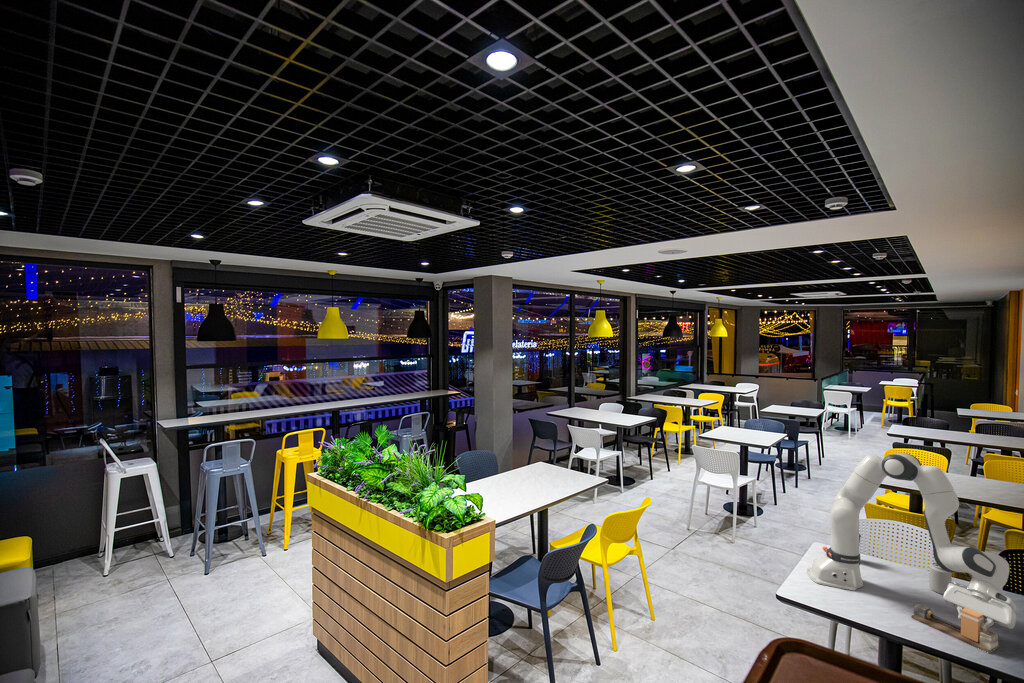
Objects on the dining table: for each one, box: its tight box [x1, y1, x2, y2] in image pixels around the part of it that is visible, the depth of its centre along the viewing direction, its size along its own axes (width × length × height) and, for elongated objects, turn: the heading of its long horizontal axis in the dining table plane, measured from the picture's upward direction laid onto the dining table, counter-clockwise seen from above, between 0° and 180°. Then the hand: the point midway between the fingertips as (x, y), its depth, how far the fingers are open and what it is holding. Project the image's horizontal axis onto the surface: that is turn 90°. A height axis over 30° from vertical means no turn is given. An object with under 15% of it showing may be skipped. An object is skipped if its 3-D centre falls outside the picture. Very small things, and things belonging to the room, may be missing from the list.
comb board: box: [910, 603, 1000, 654], centre depth 186 cm, size 24×8×6 cm, turn 25°
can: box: [928, 561, 953, 595], centre depth 215 cm, size 8×8×12 cm
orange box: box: [960, 608, 985, 642], centre depth 180 cm, size 5×4×10 cm
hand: (971, 624), depth 180 cm, fingers closed on orange box, 5 cm apart
